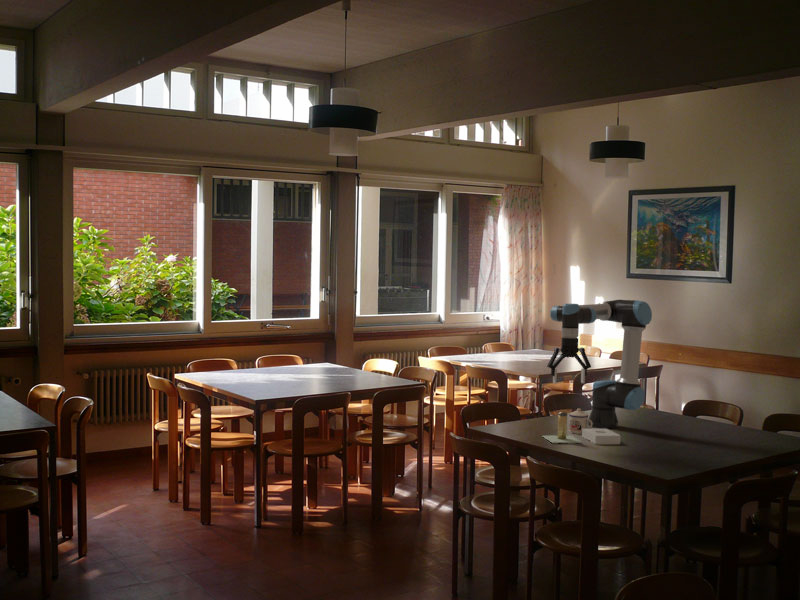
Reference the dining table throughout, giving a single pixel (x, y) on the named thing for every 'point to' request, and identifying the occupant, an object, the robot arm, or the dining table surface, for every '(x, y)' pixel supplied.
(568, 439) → the mat
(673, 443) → the dining table surface
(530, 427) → the dining table surface
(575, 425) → the teacup with lid
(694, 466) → the dining table surface
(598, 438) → the white flat block
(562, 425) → the yellow tall cylinder
